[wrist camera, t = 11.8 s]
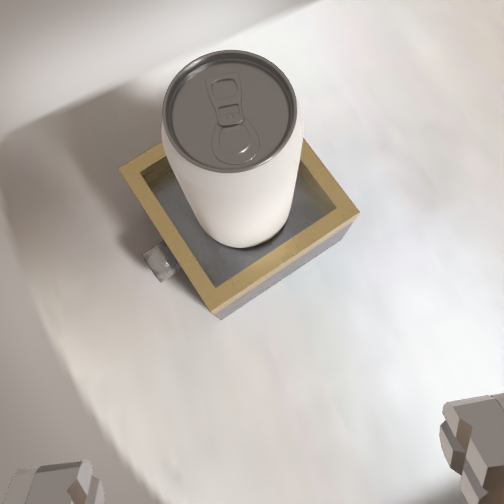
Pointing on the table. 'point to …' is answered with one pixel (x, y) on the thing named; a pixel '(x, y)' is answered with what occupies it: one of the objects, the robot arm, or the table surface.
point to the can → (234, 144)
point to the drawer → (230, 258)
